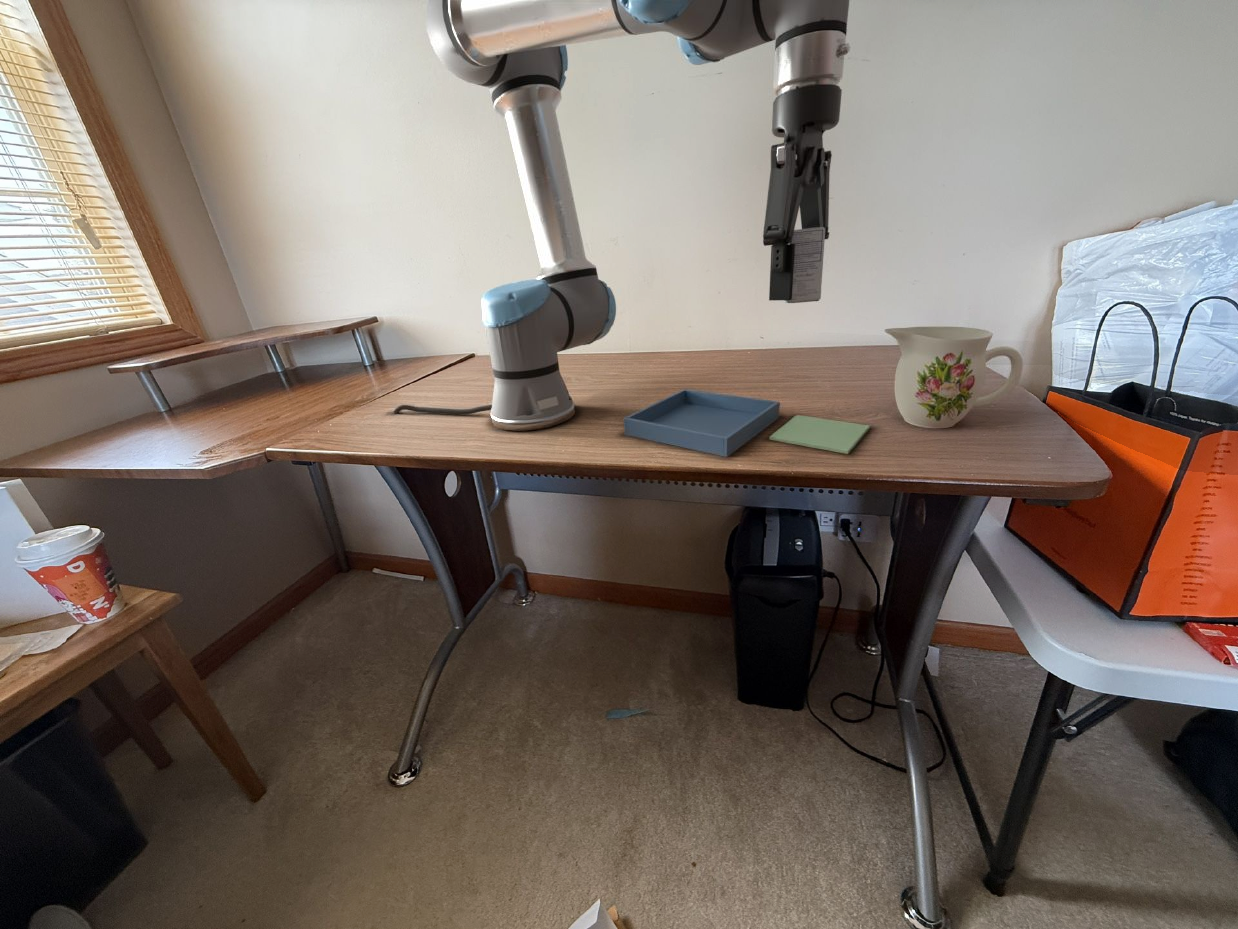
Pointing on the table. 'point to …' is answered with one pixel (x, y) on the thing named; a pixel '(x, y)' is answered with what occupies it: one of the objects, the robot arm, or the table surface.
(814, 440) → the mat
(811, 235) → the medicine box
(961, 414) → the pitcher
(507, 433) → the table surface
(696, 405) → the tray
